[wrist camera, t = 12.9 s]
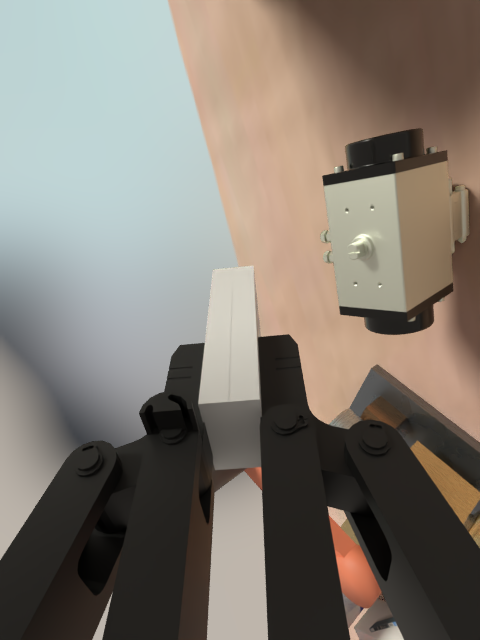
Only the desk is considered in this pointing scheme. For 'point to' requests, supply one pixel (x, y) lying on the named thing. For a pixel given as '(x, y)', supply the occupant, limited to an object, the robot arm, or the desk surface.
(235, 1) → the desk surface
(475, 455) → the valve assembly
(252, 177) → the desk surface
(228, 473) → the valve lever
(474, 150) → the desk surface
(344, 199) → the pneumatic valve
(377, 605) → the ink cartridge box
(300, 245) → the desk surface
